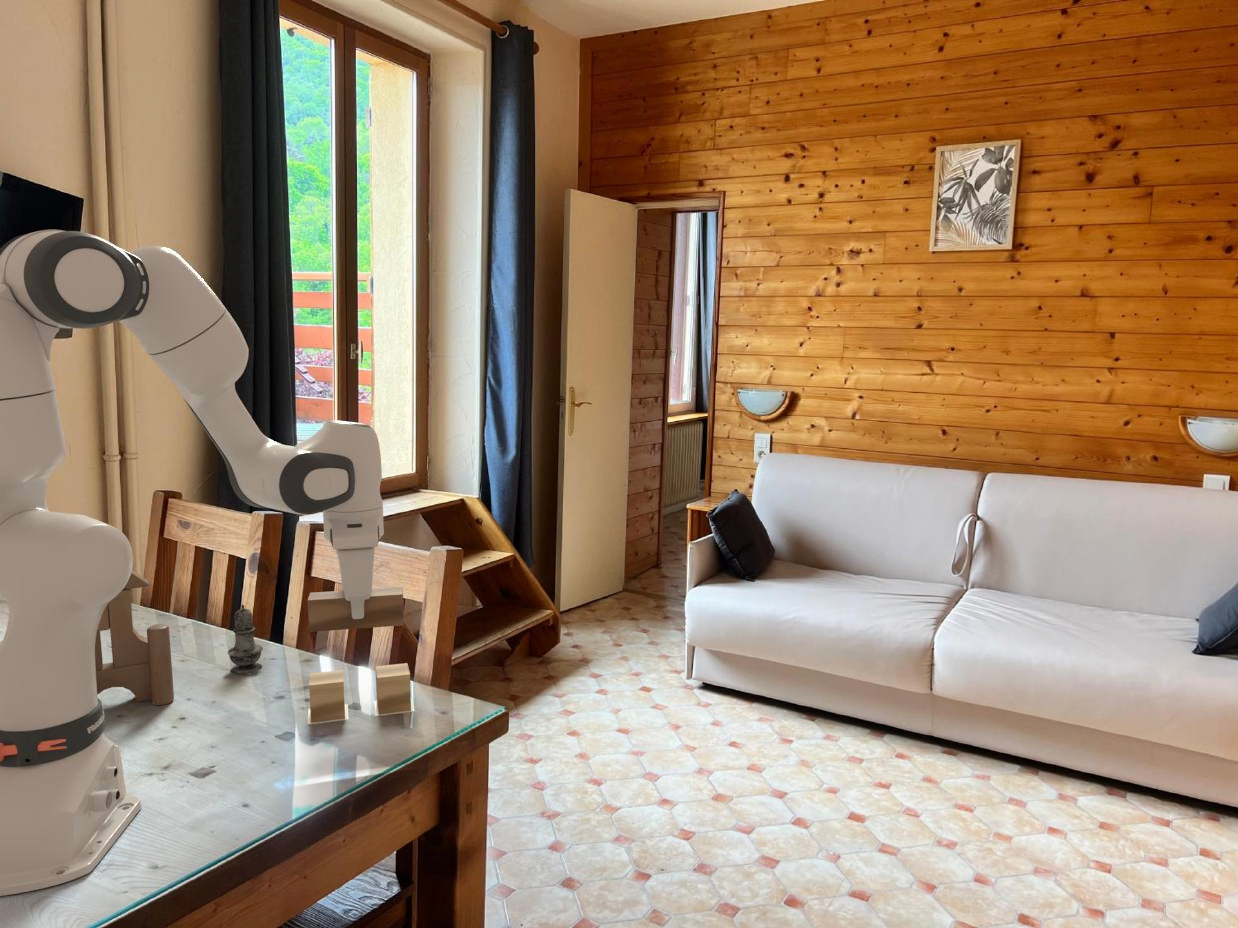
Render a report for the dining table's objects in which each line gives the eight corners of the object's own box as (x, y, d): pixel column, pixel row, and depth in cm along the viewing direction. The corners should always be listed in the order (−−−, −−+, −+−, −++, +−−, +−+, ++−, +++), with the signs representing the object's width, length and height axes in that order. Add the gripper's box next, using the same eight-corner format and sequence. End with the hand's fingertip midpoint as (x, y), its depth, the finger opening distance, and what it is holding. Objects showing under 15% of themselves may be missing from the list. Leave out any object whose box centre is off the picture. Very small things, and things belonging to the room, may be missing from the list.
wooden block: (403, 625, 138) (402, 594, 137) (309, 631, 135) (307, 600, 134) (403, 617, 142) (402, 587, 141) (311, 623, 139) (310, 592, 138)
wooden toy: (63, 723, 137) (48, 566, 133) (65, 707, 142) (51, 556, 139) (174, 703, 144) (164, 554, 141) (172, 689, 150) (161, 545, 146)
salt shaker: (269, 668, 159) (266, 604, 158) (237, 677, 155) (233, 611, 153) (255, 660, 163) (251, 597, 161) (222, 669, 159) (218, 604, 157)
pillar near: (345, 718, 137) (343, 681, 136) (311, 722, 136) (309, 685, 135) (344, 705, 142) (343, 669, 141) (311, 709, 140) (309, 673, 140)
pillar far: (411, 710, 140) (409, 674, 139) (378, 714, 139) (377, 677, 138) (408, 698, 145) (407, 662, 144) (376, 701, 143) (375, 666, 143)
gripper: (332, 513, 145) (335, 595, 147) (332, 541, 126) (336, 634, 128) (372, 511, 147) (375, 591, 149) (378, 538, 128) (382, 630, 130)
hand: (357, 612), depth 138 cm, fingers closed on wooden block, 4 cm apart
